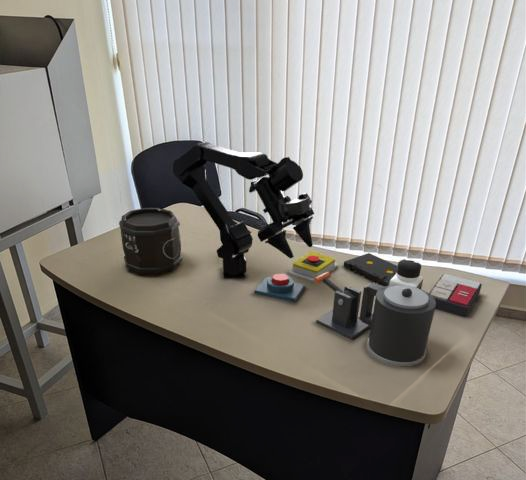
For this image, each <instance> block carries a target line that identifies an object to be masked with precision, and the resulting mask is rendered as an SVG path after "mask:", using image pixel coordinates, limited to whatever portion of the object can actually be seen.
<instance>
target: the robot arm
mask: <svg viewBox="0 0 526 480" xmlns="http://www.w3.org/2000/svg"><path fill="white" fill-rule="evenodd" d="M208 162H210V163H213V164H216V165H219V166H223V167H226V168H229V169H232V170H234V171H235V172H236V174H238V176H240V177H242V178H245V179H246V180H253V181H250V186H249V188H248V192H249V193H250V194H252V193H254V192H256V193H257V194H258V197H259V199H260V201H261V202H262V204H263V206H264V208H263V209H262V211H263V213H264V214H266V213H268V215H269V217H270V219H271V220H272V222H271V223H268V224H267V225H266V226H264V227H262V228H261V229H259V230H258V231H257V237H258V240H259V241H260V242H261V243H262V242H264V244H268V245H269V246H272V247H273V248H275V249H276V250H278V251H279V252H281V253H282V254H283V255H285V256H286V257H287V258H289V259H293V258H294V253H293V251H292V249H291V246H290V244H289V242H288V240H287V237H286V235H287V230H286V229H285V228H287V227H289V226H291V225H292V226H293V227H292V229H293V230H294V232H295V233H296V234H297V235H298V237H299V238H300V239H301V240H302V242H304V243H305V245H306V246H307V247H308V248H312V247H313V246H314V244H313V240H312V234H311V233H312V232H311V227H310V226H311V222H312V220H313V219H314V216H313V215H315V212H314V209H313V208H312V207H311V205H312V203H313V200H312V199H311V197H310V195H309V194H308V193H307V192H303V193H301V194H299V195H298V198H297V199H291V197H290V196H289V195H286V196H285V195H284V192H286V191H288V190H289V189H291V188H292V187H293V186H295V185H296V184H298V183H300V182H301V181H302V180H303V179H304V171H303V169H302V167H301V166H300V165H299V164H298V163H297V162H296V161H294V160H292V159H291V157H290V156H284V157H283V158H281V159H280V160H279V162H278V163H277V162H276V161H274V160H273V159H270V158H269V157H268V155H267V154H266V153H264V152H256V151H255V152H253V151H251V152H240V151H236V150H233V149H229V148H226V147H223V146H219V145H216V144H212V143H210V142H208V141H203V142H199V143H196V144H194V145H193V146H192V147H191V148H190V149H189V150H187V152H186V153H184V154H183V155H181V156H180V157H179V158H177V159H175V160H174V161H173V164H172V173H173V174H174V176H175V177H176V179H177V180H178V181H179V182H180V183H181V184H182V185H183V186H186V187H187V188H189V189H190V190H192V192H193V193H194V194H195V196H196V198H197V199H198V200H199V202H200V203H201V205H202V206H203V208H204V209H205V211H206V212H207V214H208V215H209V217H210V218H211V220H212V222H213V223H214V224H215V225H216V227H217V228H218V231H219V238H220V239H219V240H220V242H221V245H220V246H219V247H218V248H217V249H216V255H217V257H218V258H220V259H221V260H222V267H221V271H222V277H223V279H239V278H241V279H242V278H246V273H247V258H246V257H245V254H247V253H249V250H250V249H251V248H252V245H253V240H254V239H253V236H252V231H250V230H249V229H248V227H247V225H246V223H245V222H244V221H241V222H237V221H235V220H234V219H233V217H232V216H231V214H230V212H229V211H228V210H227V208H226V206H225V205H224V204H223V203H222V201H221V200H220V198H219V197H218V195H217V193H216V192H215V191H214V189H213V188H212V186H211V184H210V183H209V182H208V180H207V174H206V173H207V172H206V171H207V170H206V168H205V165H206V164H208ZM257 178H259V179H258V180H255V179H257Z"/></svg>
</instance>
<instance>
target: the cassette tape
mask: <svg viewBox="0 0 526 480" xmlns="http://www.w3.org/2000/svg"><path fill="white" fill-rule="evenodd" d="M397 266H398V264H397V265H396V264H394V263H392V262H390V261H388V260H385V259H383V258H381V257H379V256H376V255H375V254H372V253H370V252H368V253H364V254H361V255H359V256H356V257H353V258H350V259H347V260H345V261H343V267H344V268H346V269H348V270H349V272H352V273H354V274H356V275H358V276H361V277H362V276H363V278H365V279H366V280H368V281H369V282H372V283H376V284H379V285H381V286H384V287H386V286H389V284H390V280H391V279H392V278H393V277H394V276H395V274H396V272H397Z"/></svg>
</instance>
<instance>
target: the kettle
mask: <svg viewBox="0 0 526 480" xmlns="http://www.w3.org/2000/svg"><path fill="white" fill-rule="evenodd" d="M376 283H377V282H376ZM376 283H374V282H372V283H371V282H370V283H368V284H366V285H365V286H363V289H362V290H363V291H362V292H363V293H362V296H361V303H360V310H359V311H360V312H359V317H360V318H359V320H361V321H362V322H363V323H365V324H367V325H369V326H371V327H370V328H369V330H370V331H369V337H368V338H367V341H366V349H367V351H368V353H369V354H370V355H371V356H372V357H373V358H375V359H376V360H377V361H380V362H382V363H385V364H386V365H391V366H395V367H396V366H397V367H411V366H415V365H418V364H420V363H422V362H423V361H424V359H426V355H427V345H428V341H429V337H430V332H431V328H432V324H433V319H434V315H435V311H436V308H435V307H436V300H435V299H434V297H433V296H432V295H431V294H429V293H430V292H428V291H426V290H424V289H422V288H421V289H419V288H416V287H412V286H406V285H390V286H386V287H384V286H382V285H379V284H376Z"/></svg>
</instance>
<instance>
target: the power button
mask: <svg viewBox="0 0 526 480" xmlns="http://www.w3.org/2000/svg"><path fill="white" fill-rule="evenodd" d="M272 276H273V280H272V282H273V284H275V285H286V284H288V277H289V275H287V274H286V273H281V272H278V273H275V274H273V275H272Z"/></svg>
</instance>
